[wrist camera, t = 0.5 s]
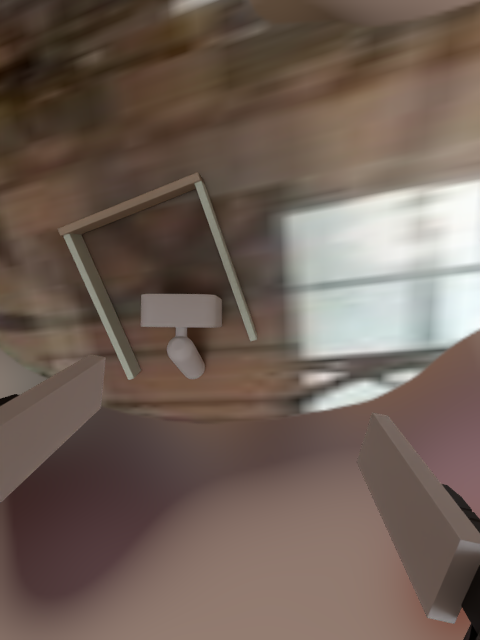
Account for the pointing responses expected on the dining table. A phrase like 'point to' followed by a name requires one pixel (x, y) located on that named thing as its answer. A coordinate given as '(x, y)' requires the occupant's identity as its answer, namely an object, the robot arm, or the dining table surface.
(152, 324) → the wall hook
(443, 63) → the dining table surface
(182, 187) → the keeper channel
